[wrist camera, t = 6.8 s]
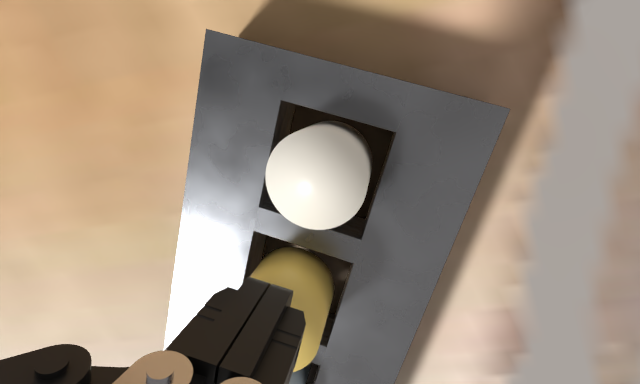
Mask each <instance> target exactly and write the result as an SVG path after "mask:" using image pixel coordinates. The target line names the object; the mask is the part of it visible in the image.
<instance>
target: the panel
mask: <svg viewBox="0 0 640 384" xmlns="http://www.w3.org/2000/svg"><path fill="white" fill-rule="evenodd" d="M296 104H297V105H300V106H304V107H308V108H311V109H315V110H318V111H322V112H325V113H329V114H333V115H336V116H340V117H343V118H347V119H350V120H354V121H358V122H361V123H365V124H368V125H372V126H375V127H379V128H383V129H386V130H390V131H393V132H394V133H393V136H392V139H391V142H390V145H389V148H388V151H387V154H386V157H385V161H384V164H383V167H382V170H381V173H380V176H379V179H378V182H377V185H376V189H375V192H374V195H373V198H372V201H371V204H370V207H369V210H368V213H367V216H366V219H363V218H360V217H356V216H353V217H352V218H351V219H350V220H348V221H347V222H345V223H344V224H342V225H340V226H337V227H335V228H331V229H325V230H313V229H308V228H304V227H301V226H298V225H296V224H294V223H292V222H291V221H289V220H288V219H286V218H285V217H284V216H283V215H282V214H281V213H280V212H279V211H278V210H277V209H276V207H275V206H274V204H273V203H272V201H271V199H270V196H269V194H268V191H267V187H266V179H265V176H266V166H267V163H268V159H269V157H270V155H271V153H272V151H273V150H274V148H275V147H276V146H277V144H278V143H279V142H280V141H282V140H283V139H284V138H285V137H287V136H288V135H289V133H290V128H291V124H292V119H293V115H294V111H295V106H296ZM509 111H510V109H509V108H505V107H501V106H497V105H494V104H490V103H486V102H482V101H478V100H475V99H471V98H467V97H463V96H459V95H456V94H452V93H448V92H444V91H440V90H436V89H433V88H429V87H425V86H421V85H417V84H414V83H410V82H406V81H402V80H398V79H395V78H391V77H387V76H383V75H379V74H376V73H372V72H368V71H364V70H360V69H357V68H353V67H349V66H345V65H341V64H338V63H334V62H330V61H326V60H322V59H319V58H315V57H311V56H307V55H303V54H300V53H296V52H292V51H288V50H284V49H281V48H277V47H273V46H269V45H265V44H261V43H258V42H254V41H250V40H246V39H242V38H239V37H235V36H231V35H227V34H223V33H220V32H216V31H212V30H208V29H206V34H205V41H204V49H203V56H202V64H201V72H200V79H199V87H198V94H197V102H196V109H195V117H194V125H193V132H192V140H191V147H190V155H189V162H188V170H187V178H186V185H185V193H184V200H183V208H182V215H181V223H180V230H179V238H178V246H177V253H176V261H175V268H174V276H173V283H172V291H171V299H170V306H169V314H168V321H167V329H166V336H165V344H164V350H165V349H166V348H167V347H168V346H169V344H170V343H171V342H172V341H173V340H174V339H175V338H176V336H177V335H178V334H179V333H180V332H181V331H182V330H183V328H184V327H185V326H186V325H187V324H188V323H189V322H190V321H191V319H192V318H193V317H194V316H196V314H197V313H198V311H199V310H200V309H201V308H202V307H204V305H205V303H206V302H207V301H208V300H209V299H210V298H211V297H212V295H213V294H215V293H217V292H219V291H221V290H223V289H225V288H227V287H230V288H233V289H236V290H238V289H239V288H240V287H241V285H242V284H243V283H244V281H245V280H246V279H247V278H248V277H250V276H251V274H252V273H253V272H254V270H255V269H256V268H257V266H258V265H259V264H260V262H261V258H262V253H263V249H264V245H265V240H266V236H267V235H268V236H271V237H274V238H277V239H280V240H284V241H287V242H290V243H293V244H296V245H299V246H302V247H305V248H308V249H311V250H314V251H317V252H320V253H323V254H326V255H329V256H332V257H335V258H338V259H342V260H345V261H348V262H351V266H350V269H349V272H348V275H347V279H346V282H345V285H344V288H343V291H342V294H341V297H340V300H339V303H338V307H337V310H336V313H335V315H333V314H330V313H328V316H327V320H326V324H325V327H324V331H323V334H322V338H321V341H320V345H319V349H318V351H317V354H316V356H315V357H314V359H313V360H312V361H311V362H312V363H314V364H317V365H319V366H318V369H317V372H316V375H315V378H314V381H313V384H394V383H395V380H396V378H397V376H398V373H399V371H400V368H401V366H402V364H403V361H404V359H405V357H406V354H407V352H408V350H409V347H410V345H411V342H412V340H413V338H414V335H415V333H416V331H417V328H418V326H419V324H420V321H421V319H422V316H423V314H424V312H425V309H426V307H427V305H428V302H429V300H430V298H431V295H432V293H433V290H434V288H435V286H436V283H437V281H438V279H439V276H440V274H441V272H442V269H443V267H444V264H445V262H446V260H447V257H448V255H449V253H450V250H451V248H452V246H453V243H454V241H455V238H456V236H457V234H458V231H459V229H460V227H461V224H462V222H463V219H464V217H465V215H466V212H467V210H468V208H469V205H470V203H471V201H472V198H473V196H474V193H475V191H476V189H477V186H478V184H479V182H480V179H481V177H482V175H483V172H484V170H485V167H486V165H487V163H488V160H489V158H490V156H491V153H492V151H493V149H494V146H495V144H496V141H497V139H498V137H499V134H500V132H501V130H502V127H503V125H504V123H505V120H506V118H507V115H508V113H509Z"/></svg>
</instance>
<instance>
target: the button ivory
mask: <svg viewBox="0 0 640 384" xmlns="http://www.w3.org/2000/svg"><path fill="white" fill-rule="evenodd" d="M372 165H373V162H372V153H371V150H370V147H369V145H368V143H367V141H366V140H365V138H364V137H363V136H362V134H361V133H360V132H358V131H357V130H356V129H355V128H353V127H352V126H350V125H348V124H345V123H343V122H339V121H322V122H318V123H316V124H313V125H311V126H308V127H306V128H303V129H301V130H299V131H296V132H294V133H292V134H290V135H288V136H287V137H285V138H284V139H283V140H282V141H280V142H279V143H278V144H277V146H276V147H275V148H274V150H273V151H272V153H271V155H270V157H269V159H268V163H267V166H266V176H265V179H266V187H267V191H268V194H269V196H270V199H271V201H272V203H273V204H274V206H275V207H276V209H277V210H278V211H279V212H280V213H281V214H282V215H283V216H284V217H285V218H286V219H288V220H289V221H291V222H292V223H294V224H296V225H298V226H301V227H304V228H308V229H313V230H325V229H331V228H335V227H337V226H340V225H342V224H344V223H345V222H347V221H348V220H350V219H351V218H352V217H353V216H354V215H355V214H356V213H357V212H358V210H359V209H360V207H361V206H362V204H363V202H364V199H365V197H366V192H367V188H368V184H369V180H370V176H371V172H372Z"/></svg>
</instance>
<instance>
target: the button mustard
mask: <svg viewBox="0 0 640 384" xmlns="http://www.w3.org/2000/svg"><path fill="white" fill-rule="evenodd" d="M250 277H252V278H255V279H258V280H261V281H264V282H268V283H270V284H274V285H277V286H281V287H284V288H287V289H290V290H293V297H292V301H291V306H290V307H292V308H295V309H298V310H301V311H304V316H305V321H306V326H305V330H304V334H303V338H302V342H301V346H300V350H299V354H298V358H297V362H296V365H295V367H294V370H293V372H296V371H298V370H301V369H302V368H304V367H306V366H307V365H308V364H309V363H310V362H311V361H312V360H313V359H314V357H315V356H316V354H317V351H318V349H319V345H320V341H321V338H322V334H323V331H324V327H325V324H326V320H327V316H328V313H329V309H330V306H331V302H332V299H333V295H334V281H333V277H332V274H331V272H330V270H329V268H328V267H327V266H326V264H325V263H324V262H323V261H322V260H321V259H320V258H319V257H317V256H316V255H315V254H313V253H311V252H309V251H307V250H304V249H301V248H295V247H285V248H280V249H277V250H274V251H272V252H271V253H269V254H268V255H267V256H265V258H264V259H263V260H262V261H261V262H260V264H259V265H258V266H257V268H256V269H255V270H254V272H253V273H252V274H251V276H250Z"/></svg>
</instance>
